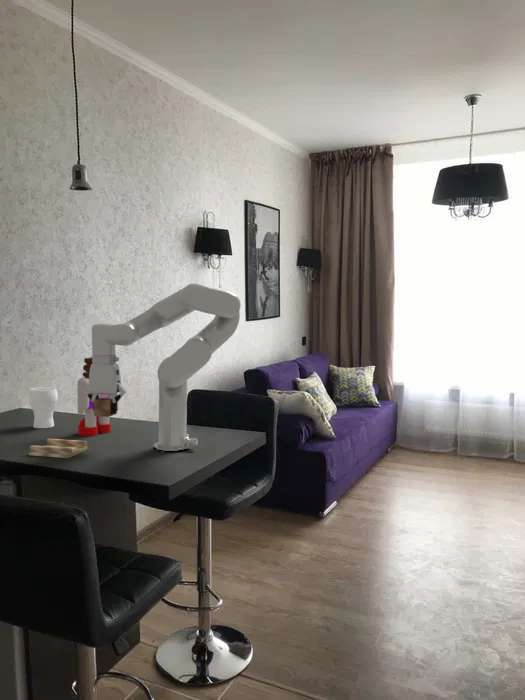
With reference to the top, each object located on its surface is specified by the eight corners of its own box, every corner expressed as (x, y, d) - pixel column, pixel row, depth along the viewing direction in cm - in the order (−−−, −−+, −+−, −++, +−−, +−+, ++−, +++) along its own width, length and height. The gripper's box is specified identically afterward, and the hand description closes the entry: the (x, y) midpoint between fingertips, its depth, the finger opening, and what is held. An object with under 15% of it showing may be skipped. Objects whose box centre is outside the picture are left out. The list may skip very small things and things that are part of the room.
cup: (28, 424, 227) (28, 387, 226) (56, 422, 231) (56, 386, 230) (30, 430, 217) (29, 391, 216) (59, 428, 222) (58, 390, 221)
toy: (104, 426, 226) (104, 351, 224) (120, 429, 222) (120, 353, 219) (68, 435, 211) (67, 355, 208) (84, 438, 206) (84, 356, 204)
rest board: (87, 448, 192) (87, 440, 192) (68, 458, 180) (68, 449, 180) (49, 446, 194) (49, 438, 194) (29, 455, 183) (28, 446, 182)
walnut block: (116, 413, 194) (116, 397, 194) (109, 416, 189) (108, 400, 188) (101, 413, 195) (101, 397, 195) (94, 416, 190) (93, 399, 189)
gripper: (132, 359, 193) (133, 412, 194) (86, 359, 196) (87, 410, 197) (123, 362, 185) (124, 416, 187) (74, 361, 188) (76, 414, 190)
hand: (105, 413), depth 192 cm, fingers closed on walnut block, 5 cm apart
